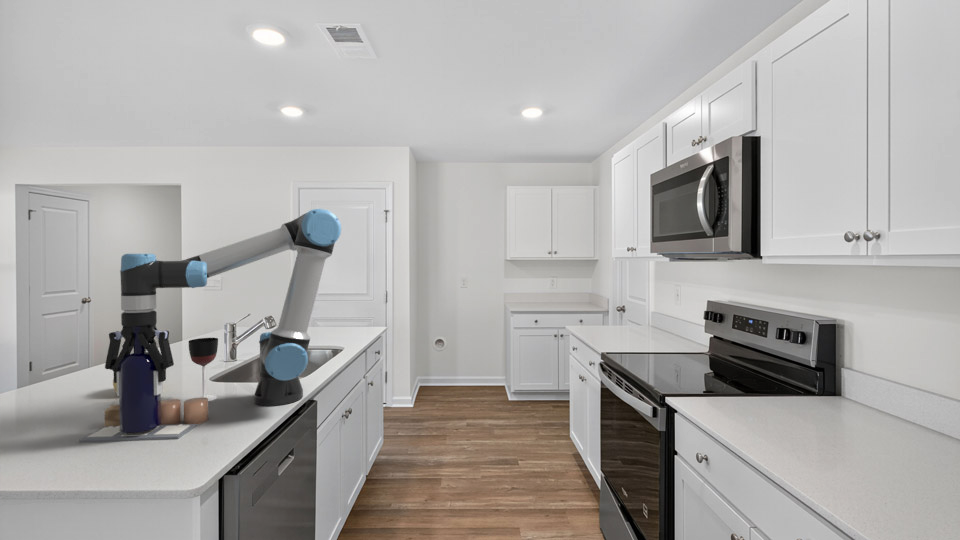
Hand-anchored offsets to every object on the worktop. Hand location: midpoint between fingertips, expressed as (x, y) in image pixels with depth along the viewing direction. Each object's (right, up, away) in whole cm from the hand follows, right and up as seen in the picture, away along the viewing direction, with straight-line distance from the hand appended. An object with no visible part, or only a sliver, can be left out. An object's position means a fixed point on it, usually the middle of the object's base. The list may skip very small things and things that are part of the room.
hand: (140, 394), depth 120 cm
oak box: (-11, -11, +7) cm, 17 cm away
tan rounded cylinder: (+9, -11, +10) cm, 17 cm away
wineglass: (-1, -10, +30) cm, 32 cm away
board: (0, -11, 0) cm, 11 cm away
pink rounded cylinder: (+2, -11, +8) cm, 13 cm away
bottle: (0, -9, 0) cm, 9 cm away
